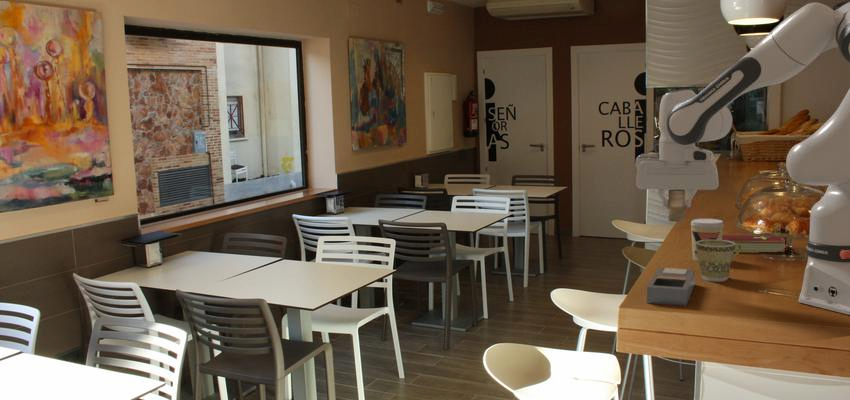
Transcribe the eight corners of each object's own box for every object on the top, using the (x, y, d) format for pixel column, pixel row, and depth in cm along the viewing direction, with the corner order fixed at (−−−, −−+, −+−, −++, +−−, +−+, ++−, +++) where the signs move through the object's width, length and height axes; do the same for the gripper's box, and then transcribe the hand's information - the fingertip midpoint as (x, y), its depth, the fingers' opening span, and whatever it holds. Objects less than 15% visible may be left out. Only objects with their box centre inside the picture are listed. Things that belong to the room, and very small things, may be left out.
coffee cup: (687, 261, 231) (688, 222, 229) (692, 255, 239) (693, 217, 237) (720, 264, 226) (721, 224, 225) (724, 258, 235) (725, 219, 233)
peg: (687, 221, 198) (688, 190, 197) (674, 222, 197) (674, 191, 196) (678, 219, 202) (678, 188, 201) (665, 220, 201) (665, 189, 200)
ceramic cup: (710, 284, 203) (711, 247, 202) (687, 276, 213) (688, 241, 211) (752, 280, 207) (753, 243, 205) (728, 272, 216) (728, 237, 215)
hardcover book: (710, 246, 255) (711, 233, 254) (779, 247, 250) (779, 234, 250) (716, 253, 243) (716, 240, 243) (787, 254, 239) (788, 241, 238)
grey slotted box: (686, 305, 184) (686, 288, 183) (646, 302, 188) (646, 285, 187) (694, 284, 204) (694, 268, 203) (658, 282, 207) (658, 266, 207)
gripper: (633, 154, 199) (633, 207, 200) (717, 154, 190) (717, 209, 192) (637, 152, 205) (637, 204, 206) (719, 152, 196) (718, 205, 198)
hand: (676, 206), depth 199 cm, fingers closed on peg, 4 cm apart
